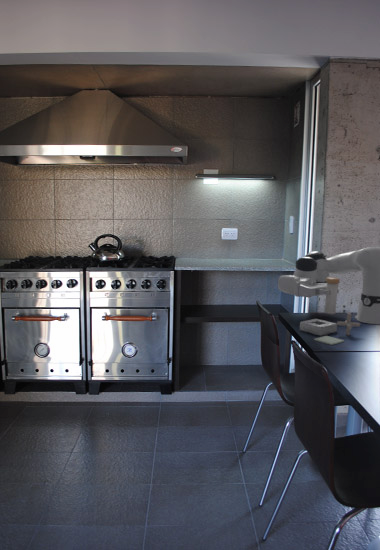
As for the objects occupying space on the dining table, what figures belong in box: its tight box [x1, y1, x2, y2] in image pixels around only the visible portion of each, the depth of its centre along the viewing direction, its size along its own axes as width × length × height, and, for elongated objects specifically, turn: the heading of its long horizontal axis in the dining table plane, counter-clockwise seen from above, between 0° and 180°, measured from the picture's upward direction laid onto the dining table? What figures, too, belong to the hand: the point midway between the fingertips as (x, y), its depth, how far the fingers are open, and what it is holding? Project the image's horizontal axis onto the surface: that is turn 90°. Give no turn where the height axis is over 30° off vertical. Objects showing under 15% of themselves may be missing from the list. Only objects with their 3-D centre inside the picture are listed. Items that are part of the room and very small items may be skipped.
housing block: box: [299, 318, 338, 337], centre depth 212 cm, size 12×12×4 cm
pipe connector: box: [336, 312, 361, 336], centre depth 206 cm, size 10×10×10 cm
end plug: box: [324, 276, 341, 315], centre depth 193 cm, size 5×5×15 cm
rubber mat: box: [313, 335, 345, 346], centre depth 196 cm, size 9×9×1 cm
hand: (333, 292), depth 192 cm, fingers closed on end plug, 4 cm apart
